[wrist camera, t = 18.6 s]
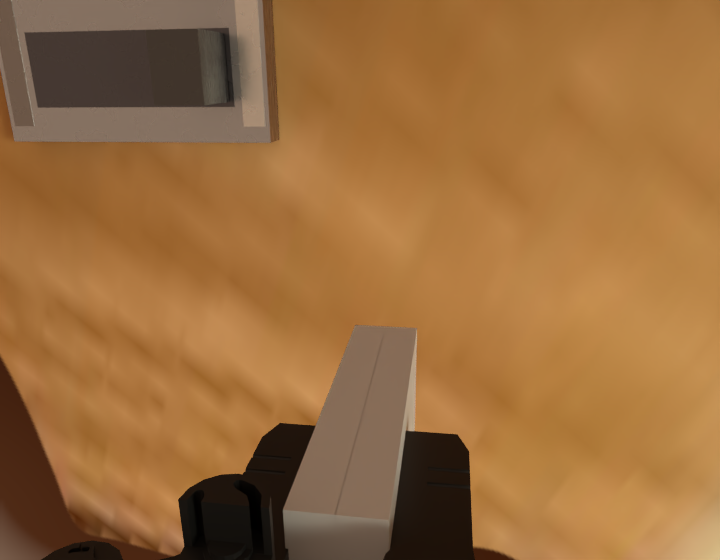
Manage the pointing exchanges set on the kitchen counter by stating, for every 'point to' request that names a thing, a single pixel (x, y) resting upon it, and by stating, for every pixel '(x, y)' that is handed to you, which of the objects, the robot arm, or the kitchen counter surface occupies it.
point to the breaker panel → (139, 70)
